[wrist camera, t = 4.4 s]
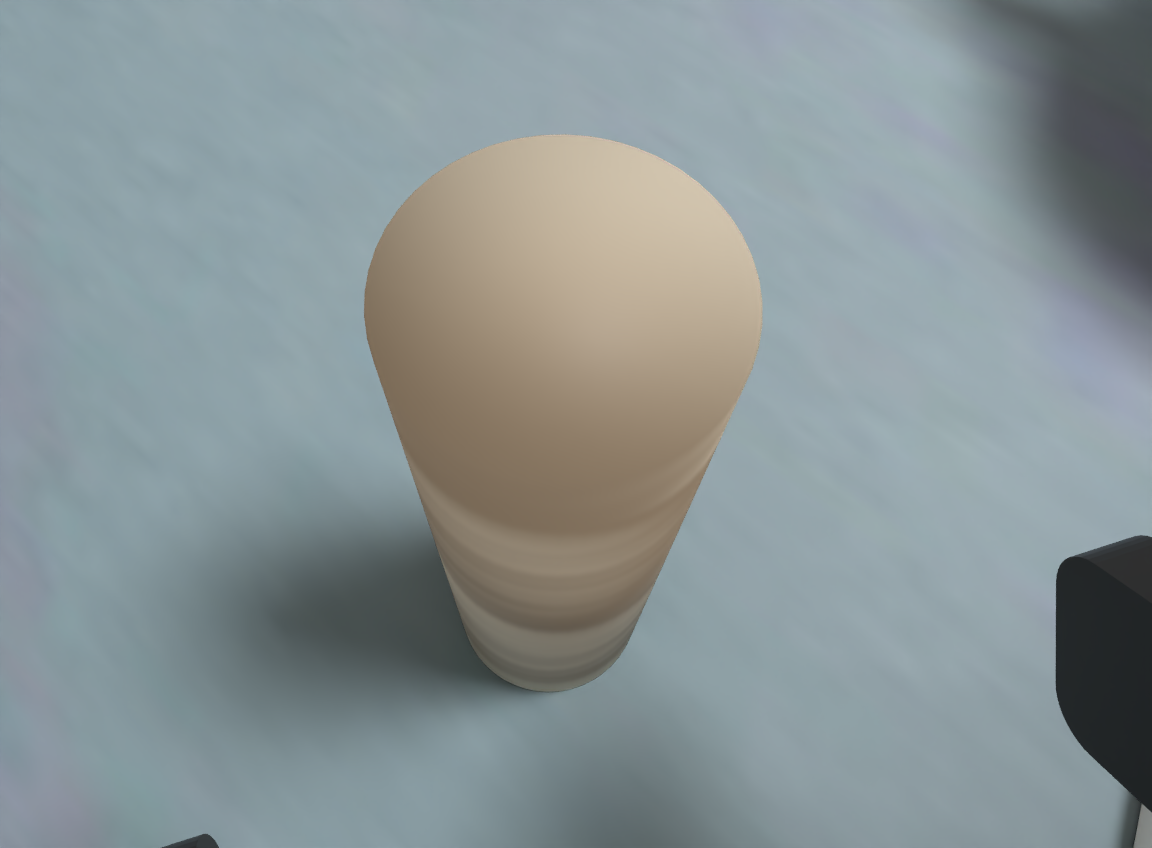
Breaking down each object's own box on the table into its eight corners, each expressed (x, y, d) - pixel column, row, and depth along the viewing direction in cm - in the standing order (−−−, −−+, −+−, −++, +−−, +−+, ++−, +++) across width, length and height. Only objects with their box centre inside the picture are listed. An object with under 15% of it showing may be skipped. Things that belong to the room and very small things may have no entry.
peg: (504, 492, 21) (466, 86, 10) (661, 557, 20) (812, 212, 9) (431, 648, 19) (291, 390, 8) (597, 720, 19) (681, 550, 8)
